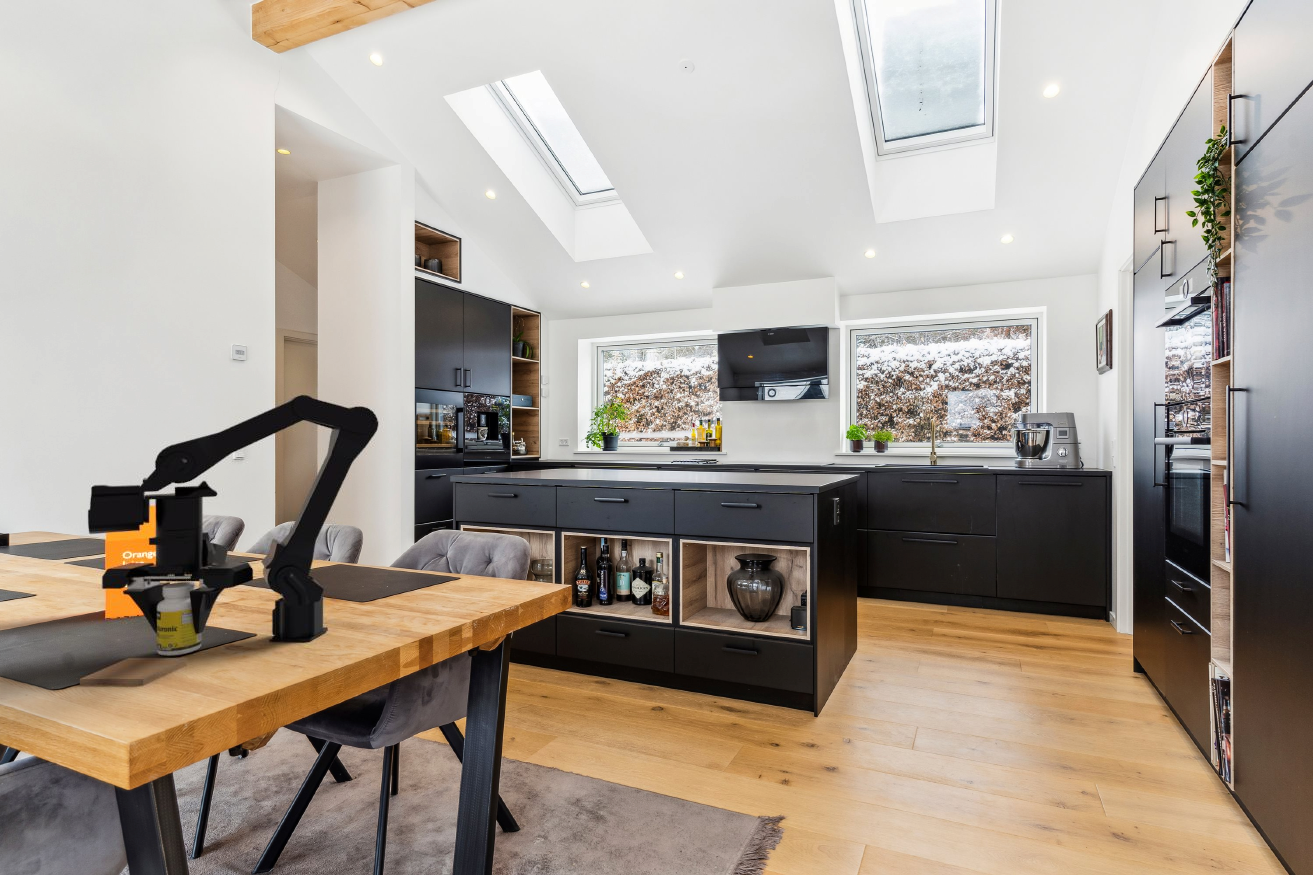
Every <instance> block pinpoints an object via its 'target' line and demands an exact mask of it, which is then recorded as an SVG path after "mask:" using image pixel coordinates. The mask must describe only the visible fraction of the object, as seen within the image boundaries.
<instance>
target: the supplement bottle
mask: <svg viewBox="0 0 1313 875" xmlns="http://www.w3.org/2000/svg"><path fill="white" fill-rule="evenodd" d="M194 589H197V587H196V583H195V582H194V581H179V582H174V583H170V584H168V585H165V586H163V593H162V594H163V597H165V599H164V600H163V601H161V602H160V603H159V604H158V606H157V634H156V650H157V653H158V654H159V655H161V656H181V655H185V654H188V653H192V652H194V651H195V652H196V651H197V650H199V649H200V648H201V647H202V640H203V638H202V633H203V632H202V633H200V634H196V633H195V629H194V625H193V618H192V609H191V601H190V593H189V591H191V590H194Z"/></svg>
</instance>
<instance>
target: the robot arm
mask: <svg viewBox="0 0 1313 875" xmlns="http://www.w3.org/2000/svg"><path fill="white" fill-rule="evenodd" d="M302 421H305V422H308V423H312V424H315V425H316V426H317V425H318V426H321V427H324V428H327V429H331V433H330V435H329V441H328V447H327V448H328V449H327V454H326V456H325V458H324V460H323V462H322V465H321V466H320V468H319V471H318V473H317V475H316V476H315V479H314V481H313V483H312V485H311V488H310V490H309V492H308V494H307V496H306V498H305V499H304V502H303V504H302V507H301V509H300V510H299V512H298V514H297V517H296V518H295V521H294V524H293V525H292V527H291V529H290V531H289V532H288V533H287V535H286V536H285V537H284V538H283V540H282V541H280V540H278V539H275V538H273V539H272V540H271V543H270V545H269V549H268V553H267V554H266V555H265V557H264V558H263V559H262V560H261V563H262V565H263V569H262V576H263V578H264V580H265V582H266V584H267V585H268V587H269V588H270V589H271V590H272V591H273V592H274V593H276V594H279V596H281V597H280V598H278V599H276V600H275V601H274V608H273V609H272V611H271V612H272V613H271V627H272V628H271V630H272V631H271V634H272V635H273V636H271V637H270V638H268V640H269V641H268V642H270V643H273V642H274V643H275V642H277V643H281V642H283V643H284V642H285V643H286V642H287V643H288V642H290V643H291V642H293V643H294V642H296V643H297V642H299V643H300V642H301V643H302V642H303V643H304V642H307V643H308V642H312V641H313V640H315V639H316V638H318V637H319V636H321V635H323V634H325V633H326V632H328V630H329V628H328V627H327V626H326V627H325V626H324V596H323V593H324V587H323V586H322V585H320V583H319V582H318V581H317V580H316V579H315V578H313V577H312V576H311V575H310V573H311V568H312V565H313V562H314V556H315V547H316V543H317V538H318V537H319V535H320V532H321V530H322V528H323V527H324V524H325V522H326V521H327V518H328V515H329V513H330V511H331V510H332V507H333V505H334V502H335V500H336V499H337V497H338V494H339V492H340V489H341V488H342V486H343V484H344V481H345V480H346V477H347V476H348V475H347V474H348V473H349V471H350V468H351V466H352V464H353V463H354V462H355V460H356V459H357V458H358V456H359V455H360V454H361V453H362V452H363V451H364V450H365V449H366V447H367V446H368V444H370V441H371V440H372V438H373V437H374V436H375V434H376V433H377V431H378V428H379V420H378V416H377V415H376V414H375V413H374V411H373V410H371V409H370V408H368V407H367V406H366V407H365V406H359V405H358V406H352V407H347V406H343V405H339V404H335V403H331V402H327V401H325V400H324V401H323V400H320V399H317V398H315V397H312V396H310V395H307V394H306V395H305V394H301V395H297V396H294V397H293V398H291V399H290V400H288V401H287V402H284V403H282V404H280V405H277V406H275V407H273V408H271V409H268V410H267V411H264V412H261V413H259V414H257V415H255V416H253V417H250V418H248V419H246V420H244V421H243V420H242V421H241V422H239V423H237V424H234V425H232V426H230V427H228V428H225V429H223V430H221V431H219V432H215V433H211V434H208V435H204V436H201V437H200V436H199V437H196V438H193V439H192V438H191V439H189V440H186V441H181V442H177V443H173V444H171V445H168V446H166V447H164V448H163V449H162V450H161V451H159V452H158V454H157V455H156V458H155V461H154V468H155V469H154V470H153V471H152V473H150V475H149V476H147V477H144V478H143V479H142V483H141V484H134V485H133V484H132V485H131V484H130V485H107V484H95V485H93V486H91V489H90V490H91V491H90V500H89V501H90V502H89V503H90V504H89V509H88V510H87V526H88V527H87V528H88V533H89V534H90V535H95V534H97V535H98V534H106V533H114V532H129V531H140V525H144V523H150V506H151V502H150V501H151V500H155V501H154V506H155V529H156V530H155V537H152V538H149V545H156V565H155V564H154V563H128V564H124V565H120V566H116V567H112V568H108V569H107V570H106V572H105V571H104V573H103V575H102V576H101V588H102V590H105V589H122V588H124V587H125V586H126V585H127V590H124V591H123V594H124V595H129V596H130V597H131V599H132V600H133V601H134V602H135V604H136V605H137V606H138V607H139V609H140V610H141V611H142V613H143V614H144V615H143V616H144V617H145V619H146V620H147V622H148V623H149V626H150V627H151V629H152V630H153V632H154V634H156V635H157V606H158V604H159V603H160V602H161V601H163V600H164V599H165V597H163V594H162V593H163V586H165V585H168V584H171V582H174V583H175V582H199V584H198V588H197V587H196V589H194V590H191V591H189V593H190V601H191V609H192V618H193V625H194V629H195V633H196V634H200V633H203V632H204V630H205V627H206V624H207V622H208V620H209V617H210V615H211V611H213V610H212V609H213V607H214V605H215V603H216V601H217V599H218V597H219V596H220V595H221V594H222V592H223V591H224V590H225V589H231V588H235V587H239V586H241V585H243V584H246V583H248V582H249V583H250V582H252V581H253V580H254V569H253V568H252V566H251V565H250V563H249V562H227V556H228V552H229V547H228V546H225V545H221V544H218V543H215V542H211V541H210V540H211V539H210V538H211V536H210V535H209V532H207V531H203V528H204V527H203V524H204V523H203V522H204V521H203V518H204V517H203V514H204V512H203V511H204V510H203V507H204V506H203V503H204V501H203V499H204V498H212V497H213V498H215V497H217V496H218V492H217V491H216V489H214V488H212V487H211V486H210V485H209V484H208V482H207V481H206V480H202V481H201V482H200V483H199V484H198V485H193V486H192V485H191V486H190V485H189V486H174V492H172V493H158V494H157V492H159V491H161V490H163V489H165V488H166V487H167V486H170V485H172V484H173V483H174V484H177V485H178V484H180V485H181V484H185V483H186V484H187V483H189V482H192V481H193V480H195V479H196V478H198V477H200V476H201V475H202V474H204V473H205V472H207V471H209V470H210V469H212V468H213V467H214V466H215V465H217V464H218V463H220V462H221V461H223V460H224V459H226V458H227V457H228V456H230V455H231V454H232V453H235V452H237V451H239V450H241V449H243V448H246V447H248V446H251V445H252V444H254V443H256V442H259V441H261V440H263V439H267V437H270V436H272V435H274V434H276V433H278V432H281V431H283V430H285V429H287V428H289V427H291V426H294V425H296V424H298V423H301V422H302ZM148 492H149V493H150V492H151V493H154V492H155V493H154V494H146V493H148ZM207 567H208V568H207Z"/></svg>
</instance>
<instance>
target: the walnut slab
mask: <svg viewBox="0 0 1313 875" xmlns="http://www.w3.org/2000/svg"><path fill="white" fill-rule="evenodd" d="M186 666H187V658H186V657H127V658H126V659H124V660H121V661H118V662H116V663H115V664H111V665H109V666H107V667H104V668H102V669H100V670H98V671H95V672H93V673H91V674H89V675H86V676H83V677H82V678H79V686H130V687H131V686H134V687H137V686H138V687H139V686H141V687H143V686H145V685H148V684H150V683H153V682H154V681H156V680H159V679H160V678H163V677H165V676H167V675H169V674H172V673H174V672H176V671H178V670H181V669H182V668H185V667H186Z"/></svg>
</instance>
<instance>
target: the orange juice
mask: <svg viewBox="0 0 1313 875" xmlns="http://www.w3.org/2000/svg"><path fill="white" fill-rule="evenodd" d="M155 530H156V529H155V505H150V523H144V525H140V531H129V532H114V533H105V542H104V543H105V554H104V555H105V560H104V561H105V564H104V565H105V571H104V573H105V572H106V570H107V569H108V568H112V567H116V566H120V565H124V564H128V563H154V564H155V565H156V545H149V538H152V537H155ZM124 590H127V585H126V586H125V587H124V588H122V589H104V591H105V593H104V594H105V596H104V597H105V598H104V599H105V603H104V604H105V605H104V606H105V607H104V608H105V620H107V619H106V618H111V619H117V617H120V618H125V617H124V616H129V617H137V615H139V616H144V614H143V613H142V611H141V610H140V609H139V607H138V606H137V605H136V604H135V602H134V601H133V600H132V599H131V597H130V596H129V595H124V594H123V591H124Z"/></svg>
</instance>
